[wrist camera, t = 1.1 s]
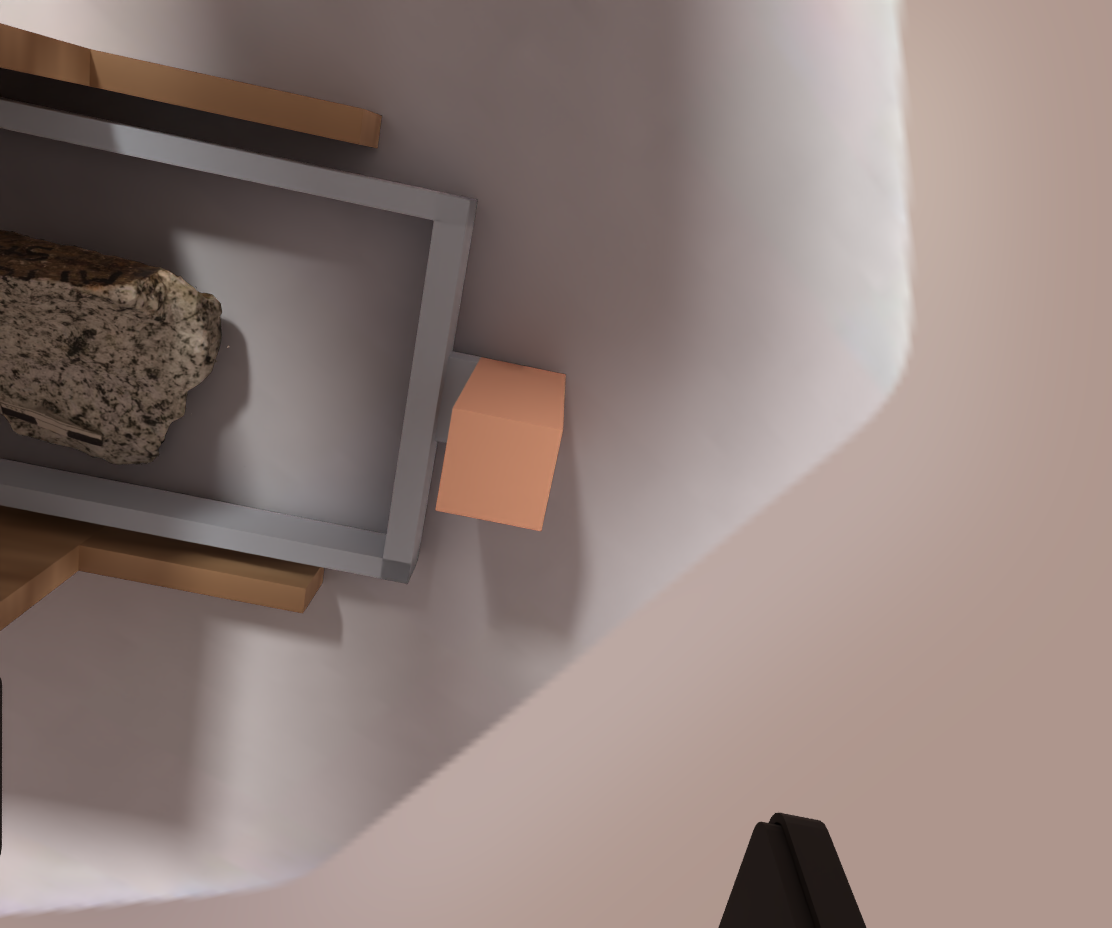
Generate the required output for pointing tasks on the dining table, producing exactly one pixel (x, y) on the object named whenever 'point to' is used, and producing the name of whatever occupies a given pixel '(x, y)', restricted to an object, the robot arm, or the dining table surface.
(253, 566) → the brown wooden arch frame
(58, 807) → the dining table surface
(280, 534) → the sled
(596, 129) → the dining table surface
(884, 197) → the dining table surface
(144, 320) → the rock sample
